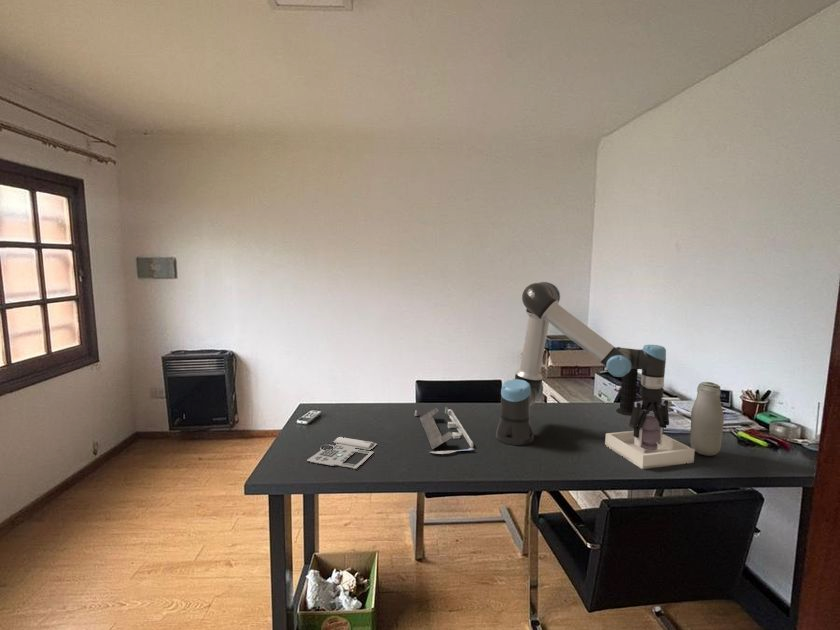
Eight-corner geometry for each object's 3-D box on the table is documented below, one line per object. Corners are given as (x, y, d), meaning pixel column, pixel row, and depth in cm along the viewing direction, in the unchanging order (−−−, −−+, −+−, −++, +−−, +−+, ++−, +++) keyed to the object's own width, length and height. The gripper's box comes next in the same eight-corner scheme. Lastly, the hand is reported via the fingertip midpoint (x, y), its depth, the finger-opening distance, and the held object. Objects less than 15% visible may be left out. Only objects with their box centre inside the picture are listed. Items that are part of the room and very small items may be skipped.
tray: (642, 469, 147) (643, 455, 147) (605, 445, 167) (605, 433, 166) (693, 462, 152) (694, 449, 152) (651, 440, 172) (652, 428, 171)
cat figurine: (644, 440, 165) (646, 410, 163) (664, 447, 158) (666, 417, 156) (631, 444, 160) (633, 414, 159) (651, 452, 154) (653, 421, 152)
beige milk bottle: (711, 449, 163) (718, 379, 160) (725, 461, 153) (732, 387, 150) (683, 447, 165) (689, 378, 162) (695, 458, 155) (701, 385, 152)
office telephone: (339, 433, 173) (383, 440, 166) (339, 439, 173) (383, 446, 166) (305, 456, 151) (354, 465, 144) (306, 463, 152) (354, 473, 145)
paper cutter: (451, 413, 203) (451, 402, 202) (477, 455, 159) (477, 441, 158) (414, 415, 200) (414, 404, 199) (430, 458, 156) (430, 444, 155)
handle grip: (614, 407, 211) (617, 414, 201) (617, 356, 208) (621, 360, 198) (636, 409, 208) (640, 416, 199) (639, 357, 205) (644, 362, 195)
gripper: (635, 391, 150) (631, 451, 153) (683, 387, 155) (679, 445, 158) (620, 385, 157) (617, 442, 160) (667, 381, 162) (663, 437, 165)
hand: (647, 444), depth 159 cm, fingers closed on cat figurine, 8 cm apart
